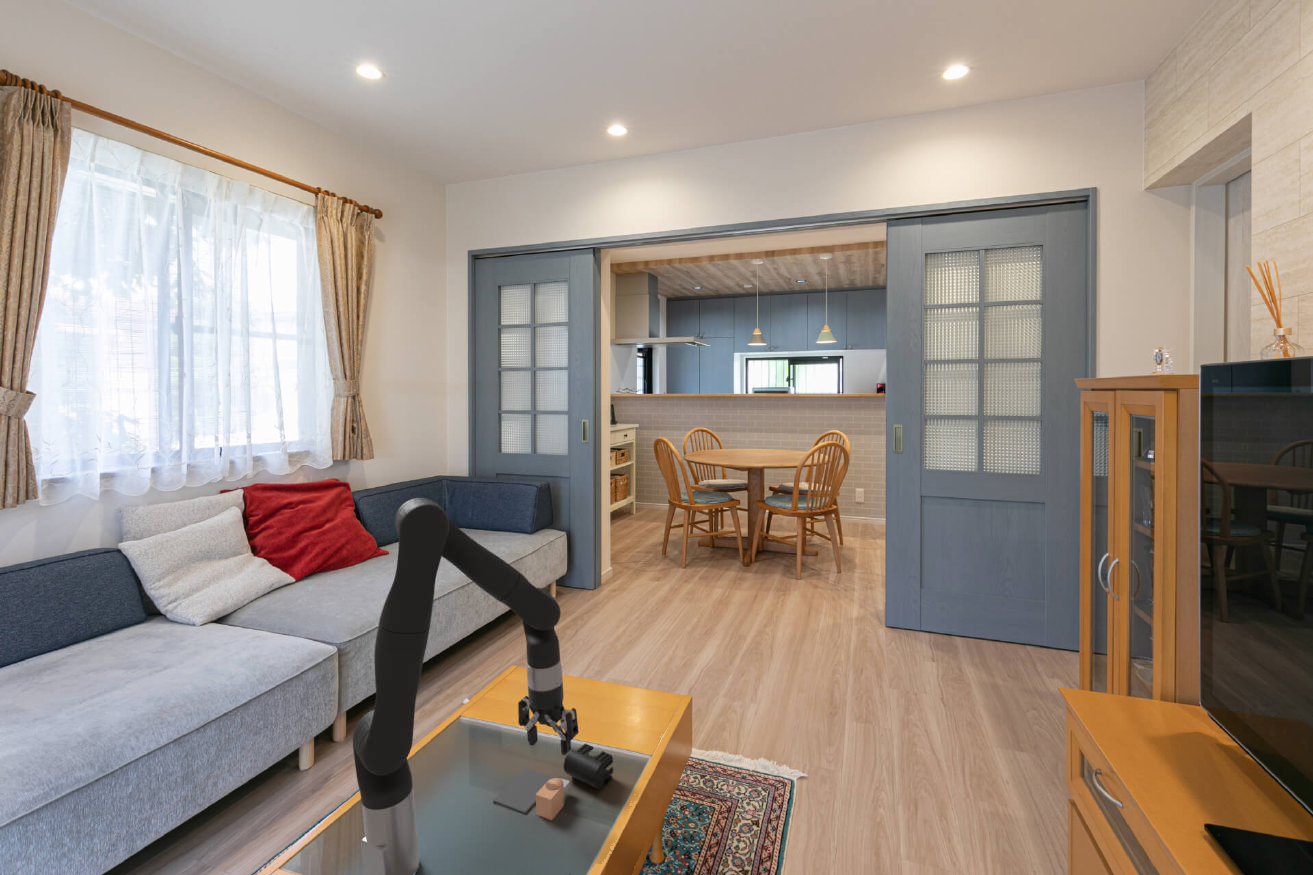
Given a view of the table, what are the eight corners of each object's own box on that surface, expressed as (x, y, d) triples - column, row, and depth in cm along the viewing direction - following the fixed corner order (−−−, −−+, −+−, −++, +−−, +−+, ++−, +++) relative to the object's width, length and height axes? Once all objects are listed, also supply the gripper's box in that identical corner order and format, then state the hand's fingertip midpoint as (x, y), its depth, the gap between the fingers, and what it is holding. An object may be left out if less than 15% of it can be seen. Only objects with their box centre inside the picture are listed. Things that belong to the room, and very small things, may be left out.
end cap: (563, 781, 148) (562, 755, 147) (583, 764, 154) (582, 739, 153) (595, 797, 142) (594, 770, 141) (615, 779, 148) (614, 753, 147)
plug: (551, 820, 136) (550, 799, 135) (536, 814, 137) (535, 794, 137) (573, 794, 143) (572, 774, 143) (558, 789, 145) (557, 769, 144)
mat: (525, 813, 138) (525, 811, 138) (493, 802, 141) (493, 800, 141) (556, 779, 148) (555, 777, 148) (525, 769, 152) (525, 767, 152)
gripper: (507, 682, 135) (512, 750, 137) (563, 695, 129) (567, 766, 131) (528, 665, 141) (533, 730, 144) (582, 678, 135) (585, 745, 138)
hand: (549, 748), depth 137 cm, fingers open, 8 cm apart
